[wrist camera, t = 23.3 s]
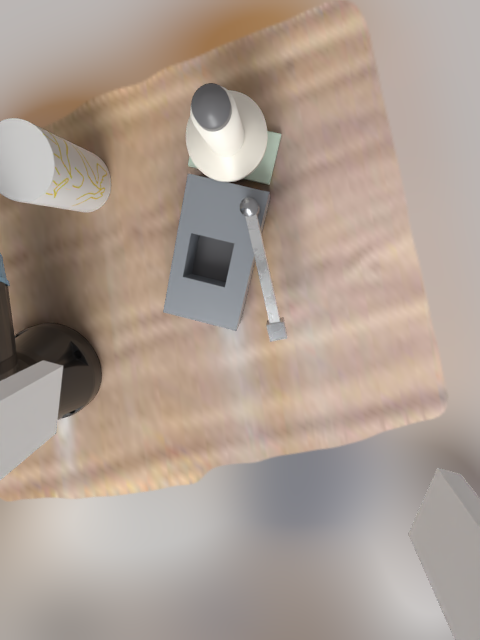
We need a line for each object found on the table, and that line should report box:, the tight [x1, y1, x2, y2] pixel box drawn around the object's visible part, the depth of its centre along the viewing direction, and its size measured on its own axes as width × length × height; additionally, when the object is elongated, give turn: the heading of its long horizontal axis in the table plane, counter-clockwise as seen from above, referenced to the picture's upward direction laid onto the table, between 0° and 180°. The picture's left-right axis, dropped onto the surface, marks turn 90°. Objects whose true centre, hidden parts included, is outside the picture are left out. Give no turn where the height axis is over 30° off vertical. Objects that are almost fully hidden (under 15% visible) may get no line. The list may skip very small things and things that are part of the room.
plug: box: [186, 83, 268, 182], centre depth 36 cm, size 9×9×14 cm
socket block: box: [163, 174, 270, 331], centre depth 44 cm, size 10×18×5 cm, turn 167°
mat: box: [188, 131, 281, 185], centre depth 43 cm, size 11×6×1 cm, turn 77°
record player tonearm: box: [240, 197, 287, 342], centre depth 39 cm, size 2×16×4 cm, turn 14°
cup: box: [0, 118, 111, 212], centre depth 41 cm, size 8×8×12 cm
